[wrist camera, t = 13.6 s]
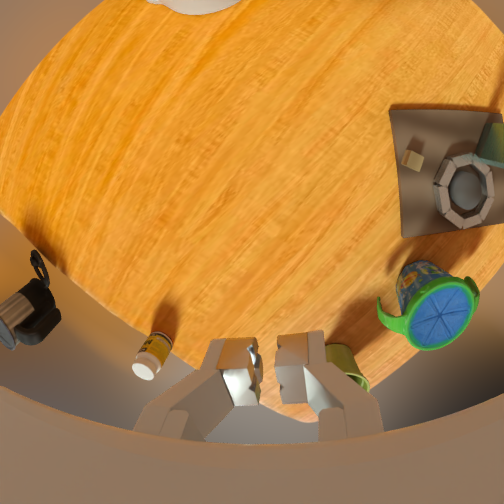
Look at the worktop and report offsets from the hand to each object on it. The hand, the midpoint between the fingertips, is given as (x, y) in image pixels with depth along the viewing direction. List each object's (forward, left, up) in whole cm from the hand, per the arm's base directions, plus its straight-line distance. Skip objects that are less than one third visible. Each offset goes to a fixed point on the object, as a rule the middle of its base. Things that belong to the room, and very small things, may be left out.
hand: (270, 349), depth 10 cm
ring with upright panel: (0, +26, -28) cm, 38 cm away
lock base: (0, +25, -29) cm, 38 cm away
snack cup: (+16, +18, -29) cm, 38 cm away
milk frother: (+8, -52, -29) cm, 60 cm away
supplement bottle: (+22, -26, -29) cm, 45 cm away
